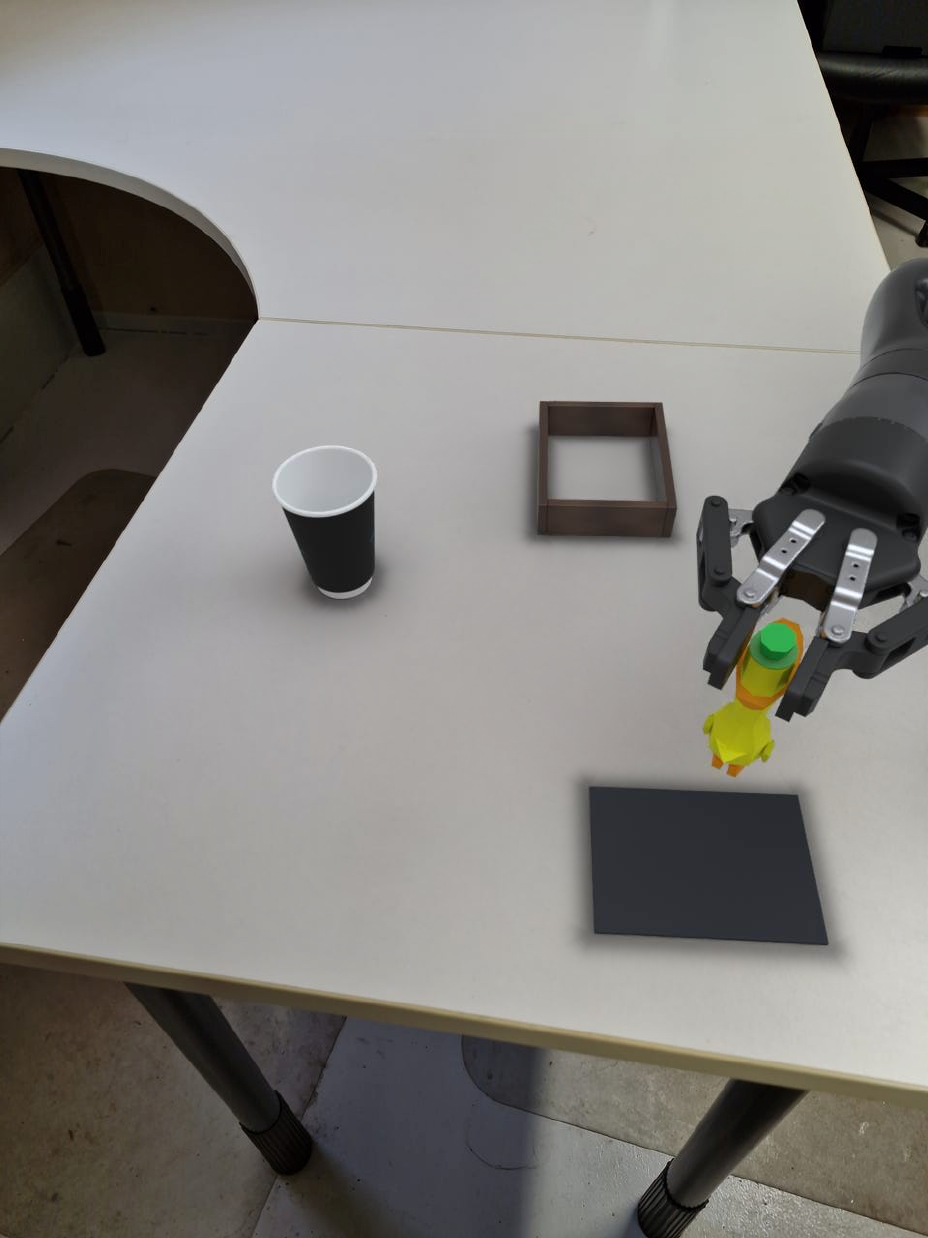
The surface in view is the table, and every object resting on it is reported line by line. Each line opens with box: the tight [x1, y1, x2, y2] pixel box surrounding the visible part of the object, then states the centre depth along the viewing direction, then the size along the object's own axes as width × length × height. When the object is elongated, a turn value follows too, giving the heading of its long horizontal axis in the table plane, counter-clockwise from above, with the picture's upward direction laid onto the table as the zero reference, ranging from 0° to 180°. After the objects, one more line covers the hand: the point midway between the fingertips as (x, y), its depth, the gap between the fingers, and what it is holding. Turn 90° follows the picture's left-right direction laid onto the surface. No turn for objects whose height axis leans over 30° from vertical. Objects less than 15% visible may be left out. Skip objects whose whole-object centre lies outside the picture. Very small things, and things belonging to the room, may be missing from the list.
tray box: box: [536, 400, 678, 538], centre depth 78 cm, size 12×15×4 cm
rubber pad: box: [588, 785, 829, 946], centre depth 55 cm, size 14×10×1 cm
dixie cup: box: [271, 444, 379, 600], centre depth 68 cm, size 8×8×11 cm
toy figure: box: [702, 617, 804, 779], centre depth 43 cm, size 7×4×12 cm, turn 148°
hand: (751, 691), depth 39 cm, fingers closed on toy figure, 2 cm apart
